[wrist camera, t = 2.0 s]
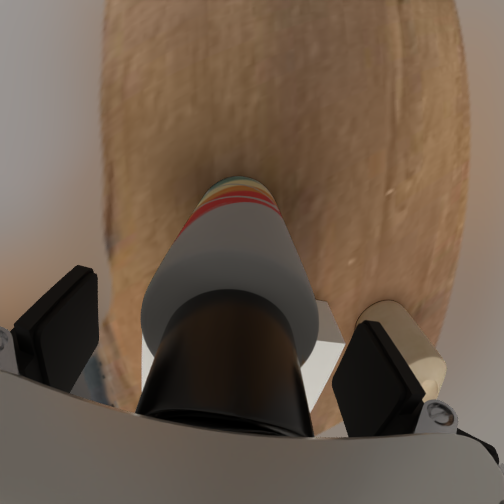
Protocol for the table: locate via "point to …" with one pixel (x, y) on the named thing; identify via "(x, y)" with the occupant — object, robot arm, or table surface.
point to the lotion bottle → (231, 319)
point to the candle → (410, 344)
